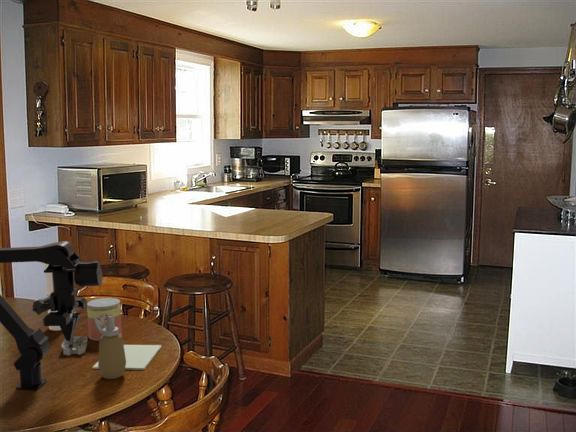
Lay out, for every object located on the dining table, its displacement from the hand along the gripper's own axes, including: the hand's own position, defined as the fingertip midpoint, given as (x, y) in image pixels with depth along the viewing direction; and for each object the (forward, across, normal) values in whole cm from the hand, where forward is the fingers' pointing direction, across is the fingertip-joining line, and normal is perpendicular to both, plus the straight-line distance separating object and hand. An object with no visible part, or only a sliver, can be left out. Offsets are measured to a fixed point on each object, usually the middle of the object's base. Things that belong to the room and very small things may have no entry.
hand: (68, 340), depth 184 cm
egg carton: (+13, -29, -9) cm, 33 cm away
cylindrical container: (+13, -52, -23) cm, 58 cm away
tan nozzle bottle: (+14, -6, +10) cm, 18 cm away
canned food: (+13, -43, -3) cm, 45 cm away
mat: (+13, -21, +11) cm, 27 cm away
